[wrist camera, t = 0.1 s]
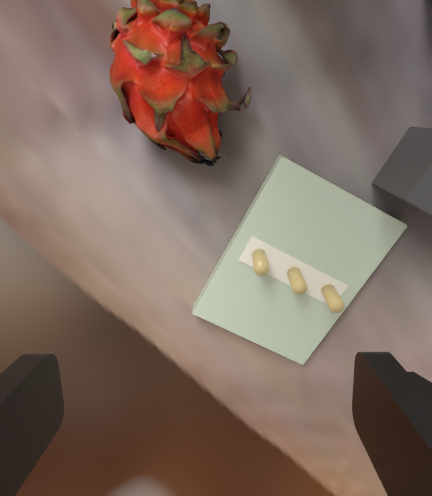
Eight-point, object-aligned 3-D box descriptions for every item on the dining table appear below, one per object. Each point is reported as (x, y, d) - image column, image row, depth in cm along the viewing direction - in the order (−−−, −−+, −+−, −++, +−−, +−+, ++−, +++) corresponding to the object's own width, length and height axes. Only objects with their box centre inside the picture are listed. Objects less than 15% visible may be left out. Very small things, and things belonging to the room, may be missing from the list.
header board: (279, 154, 29) (287, 160, 25) (399, 220, 30) (427, 237, 26) (193, 305, 34) (188, 332, 30) (299, 355, 36) (309, 387, 32)
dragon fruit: (164, -10, 27) (216, 143, 32) (58, 19, 23) (136, 186, 29) (232, -66, 20) (284, 141, 25) (97, -35, 16) (190, 196, 22)
